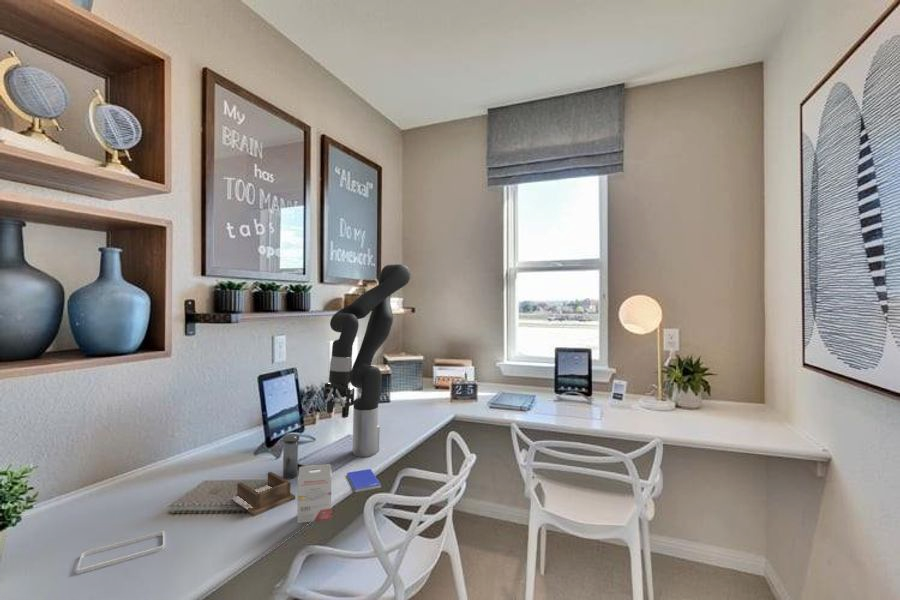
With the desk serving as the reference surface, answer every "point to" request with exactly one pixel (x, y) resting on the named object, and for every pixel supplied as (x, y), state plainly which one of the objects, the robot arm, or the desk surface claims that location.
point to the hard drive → (363, 480)
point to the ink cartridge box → (314, 493)
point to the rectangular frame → (125, 558)
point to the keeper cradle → (266, 494)
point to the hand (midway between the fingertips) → (337, 415)
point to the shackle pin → (290, 455)
